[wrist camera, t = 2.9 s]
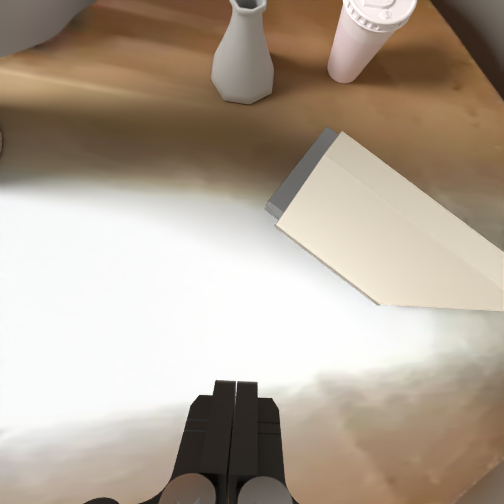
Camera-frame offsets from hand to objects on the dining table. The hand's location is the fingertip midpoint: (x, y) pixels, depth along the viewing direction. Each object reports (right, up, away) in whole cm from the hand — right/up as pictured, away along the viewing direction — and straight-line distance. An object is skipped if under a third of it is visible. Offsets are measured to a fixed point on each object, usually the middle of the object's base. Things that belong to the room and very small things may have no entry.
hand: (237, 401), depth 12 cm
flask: (-1, +25, +25) cm, 35 cm away
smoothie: (+11, +26, +26) cm, 39 cm away
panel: (+8, +5, +19) cm, 21 cm away
